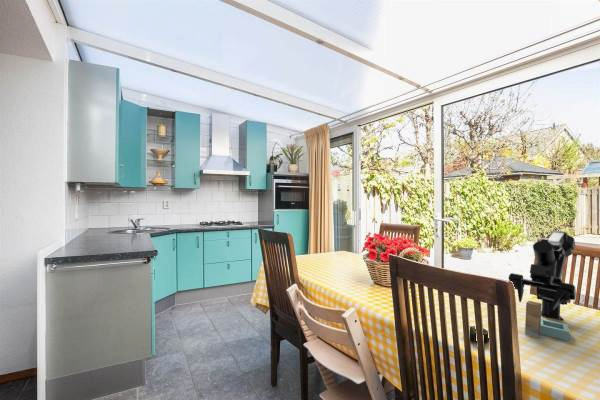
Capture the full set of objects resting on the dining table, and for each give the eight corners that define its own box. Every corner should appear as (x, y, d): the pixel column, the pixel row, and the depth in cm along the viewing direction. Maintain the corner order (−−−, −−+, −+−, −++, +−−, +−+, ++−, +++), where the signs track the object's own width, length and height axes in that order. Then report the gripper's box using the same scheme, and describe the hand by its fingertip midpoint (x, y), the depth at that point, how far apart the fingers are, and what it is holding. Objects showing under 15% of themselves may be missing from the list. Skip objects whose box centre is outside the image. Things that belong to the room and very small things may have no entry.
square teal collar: (538, 326, 110) (538, 318, 110) (566, 332, 106) (567, 324, 105) (538, 333, 104) (538, 324, 104) (568, 340, 99) (569, 332, 99)
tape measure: (462, 335, 101) (462, 324, 101) (484, 337, 100) (484, 326, 100) (470, 344, 94) (470, 333, 94) (493, 347, 93) (494, 335, 93)
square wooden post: (527, 331, 106) (529, 300, 106) (540, 335, 103) (541, 303, 103) (524, 333, 103) (526, 302, 103) (537, 337, 101) (538, 305, 101)
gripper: (511, 252, 115) (500, 284, 108) (576, 261, 101) (568, 299, 94) (516, 269, 120) (506, 302, 113) (579, 281, 106) (571, 318, 99)
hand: (535, 305), depth 105 cm, fingers open, 9 cm apart
